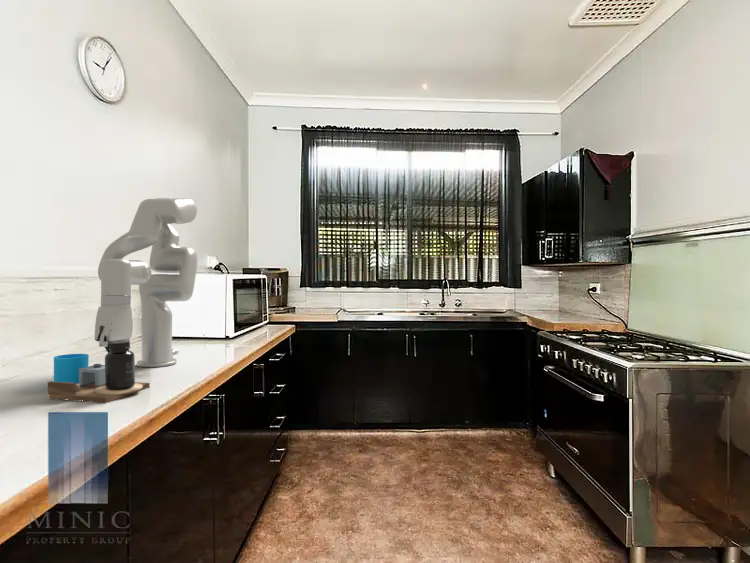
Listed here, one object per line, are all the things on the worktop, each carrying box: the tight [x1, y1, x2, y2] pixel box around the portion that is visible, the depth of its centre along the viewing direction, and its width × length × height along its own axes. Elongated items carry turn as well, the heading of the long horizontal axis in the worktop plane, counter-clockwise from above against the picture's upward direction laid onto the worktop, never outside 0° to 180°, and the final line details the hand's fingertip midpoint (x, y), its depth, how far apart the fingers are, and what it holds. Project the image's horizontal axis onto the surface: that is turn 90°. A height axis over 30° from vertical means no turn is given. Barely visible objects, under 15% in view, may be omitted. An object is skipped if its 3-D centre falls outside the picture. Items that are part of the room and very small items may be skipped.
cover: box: [79, 363, 105, 386], centre depth 124 cm, size 6×6×5 cm
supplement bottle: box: [104, 341, 136, 390], centre depth 118 cm, size 7×7×12 cm
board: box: [47, 381, 151, 404], centre depth 119 cm, size 16×19×4 cm
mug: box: [53, 353, 90, 384], centre depth 129 cm, size 12×8×8 cm
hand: (114, 365), depth 130 cm, fingers closed
